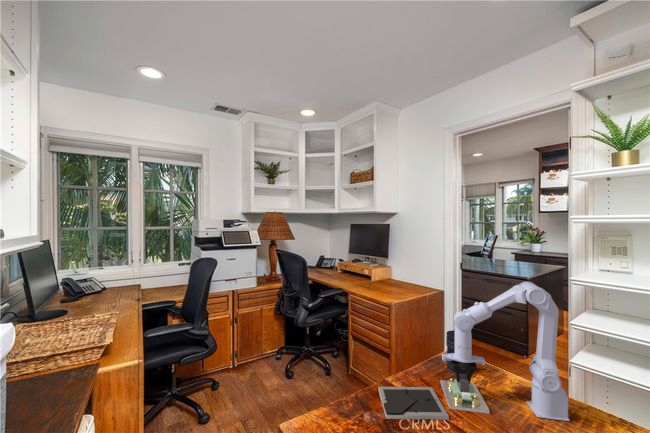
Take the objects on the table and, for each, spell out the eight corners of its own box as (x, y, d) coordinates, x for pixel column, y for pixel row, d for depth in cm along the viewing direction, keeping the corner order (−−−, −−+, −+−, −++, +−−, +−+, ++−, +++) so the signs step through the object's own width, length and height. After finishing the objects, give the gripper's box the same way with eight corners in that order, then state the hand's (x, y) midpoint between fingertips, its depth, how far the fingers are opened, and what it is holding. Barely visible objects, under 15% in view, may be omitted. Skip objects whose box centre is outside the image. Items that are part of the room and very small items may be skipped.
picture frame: (386, 421, 94) (448, 422, 94) (386, 412, 94) (448, 413, 94) (378, 391, 110) (431, 392, 110) (378, 384, 110) (431, 385, 110)
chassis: (474, 386, 113) (474, 376, 113) (489, 413, 97) (489, 402, 97) (440, 382, 115) (440, 373, 115) (449, 408, 100) (449, 397, 100)
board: (469, 382, 111) (469, 370, 111) (479, 401, 99) (480, 388, 99) (447, 379, 113) (447, 368, 113) (455, 398, 101) (455, 385, 101)
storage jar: (441, 367, 127) (441, 333, 127) (452, 360, 133) (453, 328, 133) (464, 377, 119) (464, 341, 119) (474, 369, 125) (474, 335, 125)
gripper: (480, 342, 109) (480, 377, 109) (440, 338, 111) (440, 373, 111) (487, 350, 102) (487, 388, 102) (444, 346, 105) (444, 383, 105)
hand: (462, 381), depth 106 cm, fingers open, 3 cm apart
